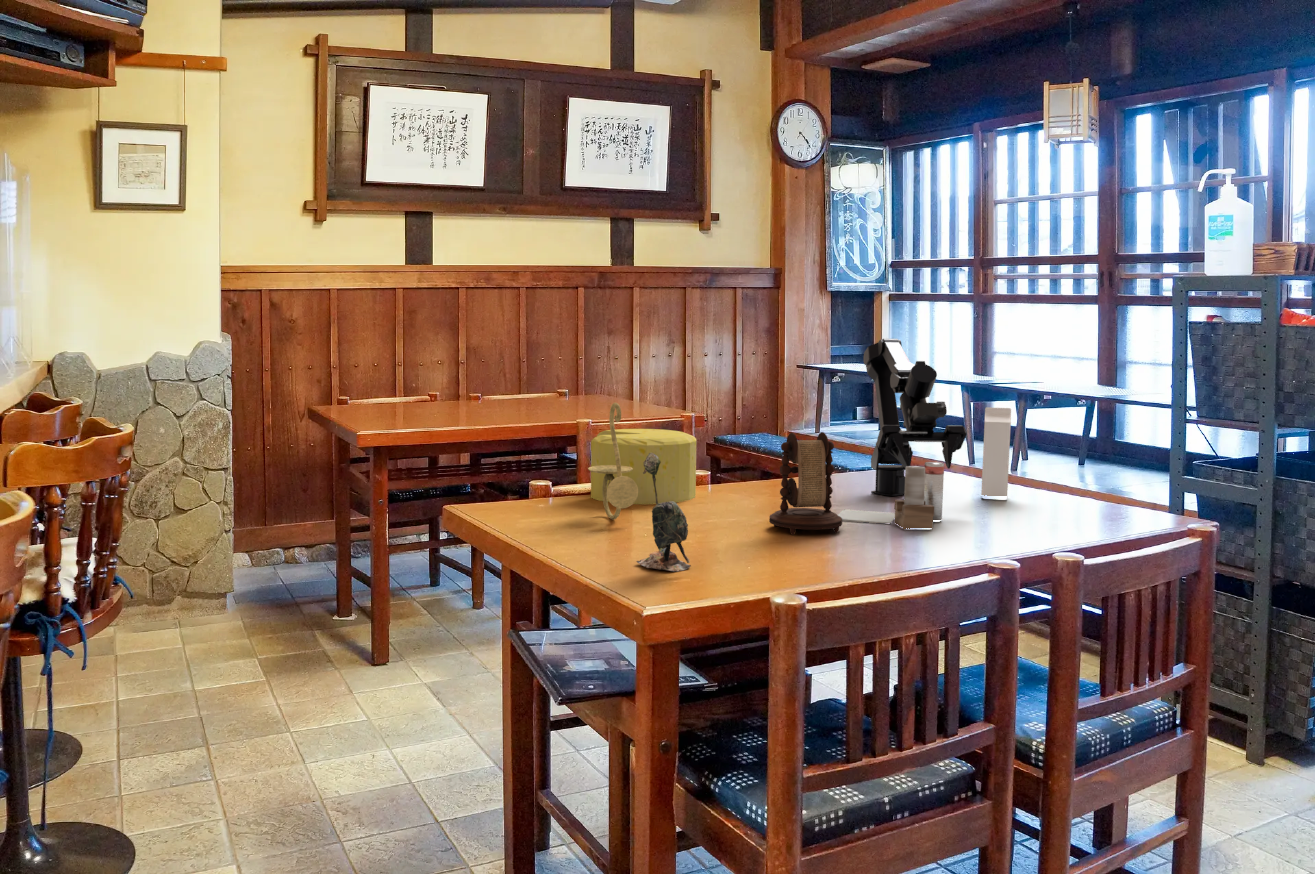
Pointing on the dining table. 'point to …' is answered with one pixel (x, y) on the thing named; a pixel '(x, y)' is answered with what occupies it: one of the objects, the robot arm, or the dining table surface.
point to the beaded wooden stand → (806, 486)
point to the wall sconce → (622, 487)
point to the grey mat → (866, 516)
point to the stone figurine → (665, 528)
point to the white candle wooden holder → (914, 501)
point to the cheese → (634, 448)
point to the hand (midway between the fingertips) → (928, 467)
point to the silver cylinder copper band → (934, 487)
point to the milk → (996, 451)
